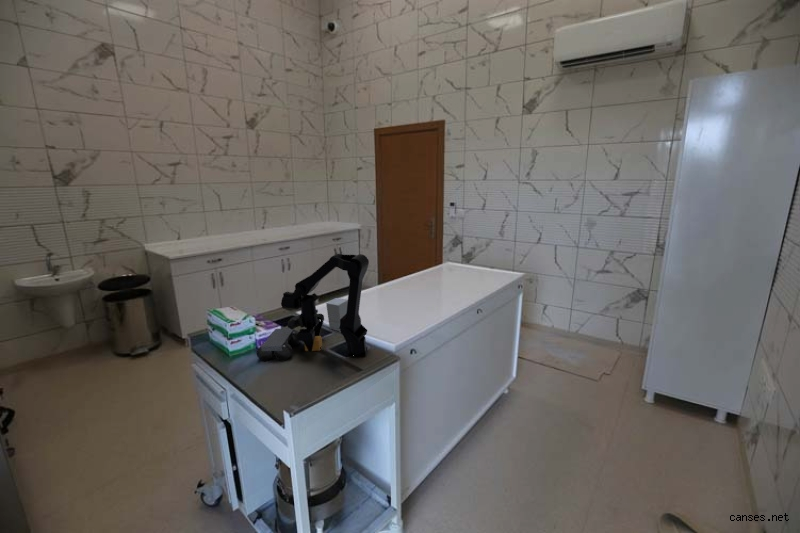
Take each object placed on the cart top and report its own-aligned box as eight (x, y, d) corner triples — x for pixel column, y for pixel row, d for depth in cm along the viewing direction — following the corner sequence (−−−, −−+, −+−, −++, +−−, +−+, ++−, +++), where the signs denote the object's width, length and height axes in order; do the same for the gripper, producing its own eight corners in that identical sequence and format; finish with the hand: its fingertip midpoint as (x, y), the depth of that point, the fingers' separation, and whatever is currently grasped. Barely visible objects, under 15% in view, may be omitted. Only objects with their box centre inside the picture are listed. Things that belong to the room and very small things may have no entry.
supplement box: (352, 325, 167) (349, 299, 164) (341, 331, 161) (338, 305, 158) (339, 322, 171) (336, 297, 168) (328, 328, 165) (325, 302, 162)
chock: (322, 345, 150) (321, 335, 149) (319, 350, 146) (318, 340, 145) (308, 346, 151) (306, 336, 149) (305, 351, 147) (303, 341, 145)
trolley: (302, 342, 154) (300, 328, 152) (290, 361, 140) (287, 345, 138) (272, 343, 155) (269, 329, 153) (257, 361, 141) (254, 346, 139)
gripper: (296, 301, 153) (301, 335, 158) (279, 320, 135) (286, 358, 140) (322, 300, 152) (326, 334, 157) (309, 319, 135) (314, 357, 139)
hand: (313, 345), depth 148 cm, fingers open, 9 cm apart
